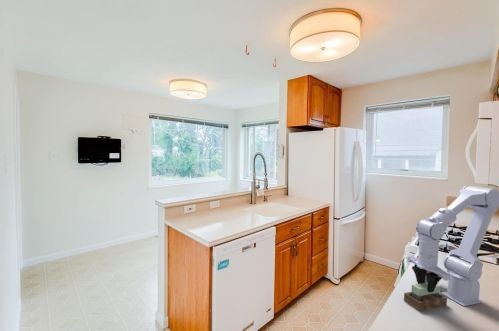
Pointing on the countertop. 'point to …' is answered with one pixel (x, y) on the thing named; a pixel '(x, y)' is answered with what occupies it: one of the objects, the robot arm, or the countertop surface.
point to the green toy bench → (423, 291)
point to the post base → (425, 301)
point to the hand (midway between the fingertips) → (425, 288)
